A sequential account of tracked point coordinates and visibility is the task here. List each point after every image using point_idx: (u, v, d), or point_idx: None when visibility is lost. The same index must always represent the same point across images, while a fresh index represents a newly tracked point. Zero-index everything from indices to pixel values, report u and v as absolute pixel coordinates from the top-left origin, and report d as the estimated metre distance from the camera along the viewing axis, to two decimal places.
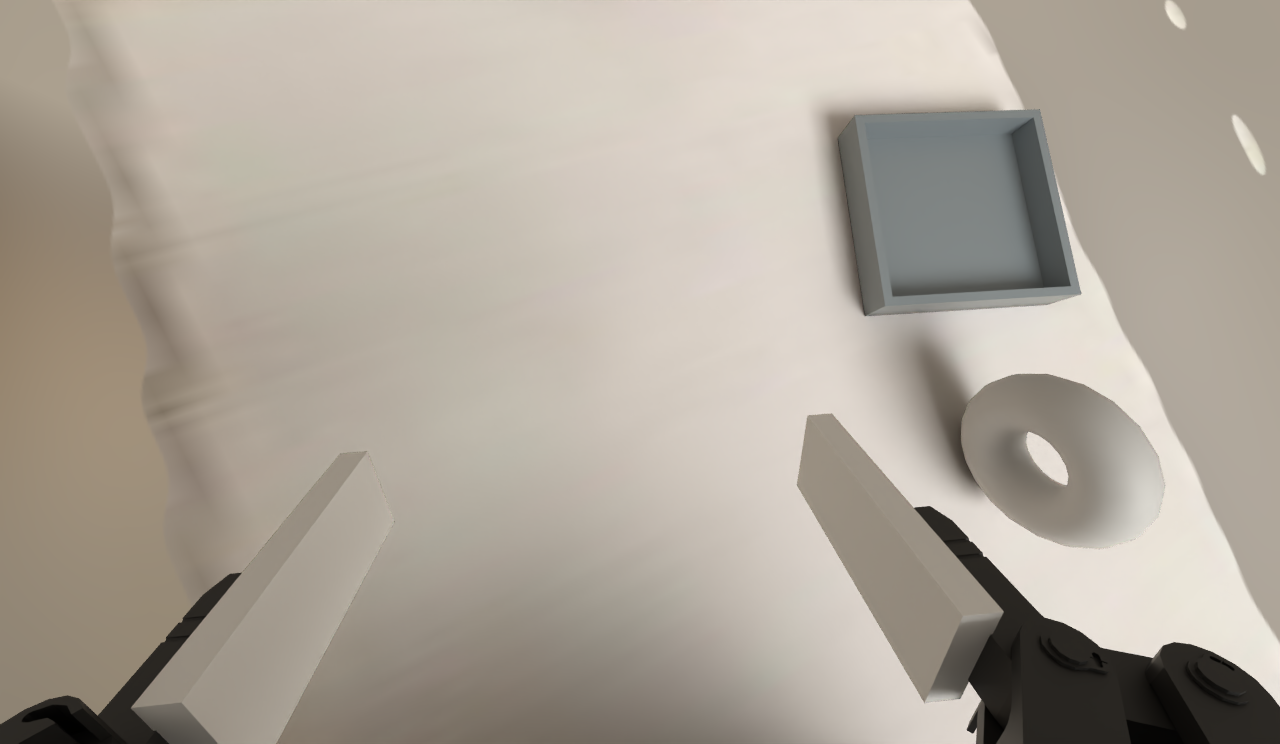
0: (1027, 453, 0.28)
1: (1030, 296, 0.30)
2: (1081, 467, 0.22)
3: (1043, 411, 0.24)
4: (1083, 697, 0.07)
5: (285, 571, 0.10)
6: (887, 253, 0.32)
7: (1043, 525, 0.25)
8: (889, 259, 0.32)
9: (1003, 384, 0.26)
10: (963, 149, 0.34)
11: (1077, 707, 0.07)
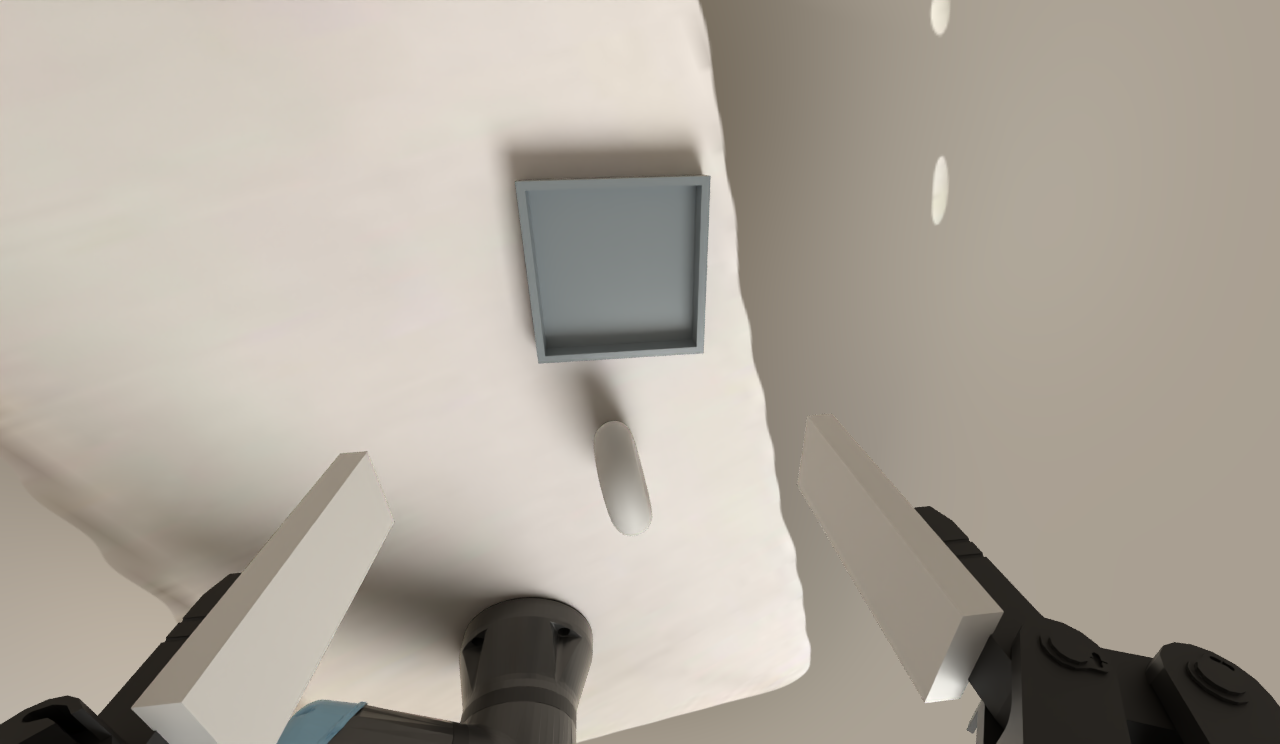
0: None
1: (661, 354, 0.38)
2: None
3: (598, 472, 0.36)
4: (1083, 697, 0.07)
5: (285, 571, 0.10)
6: (558, 305, 0.37)
7: None
8: (560, 310, 0.37)
9: (598, 437, 0.37)
10: (643, 201, 0.34)
11: (1077, 707, 0.07)
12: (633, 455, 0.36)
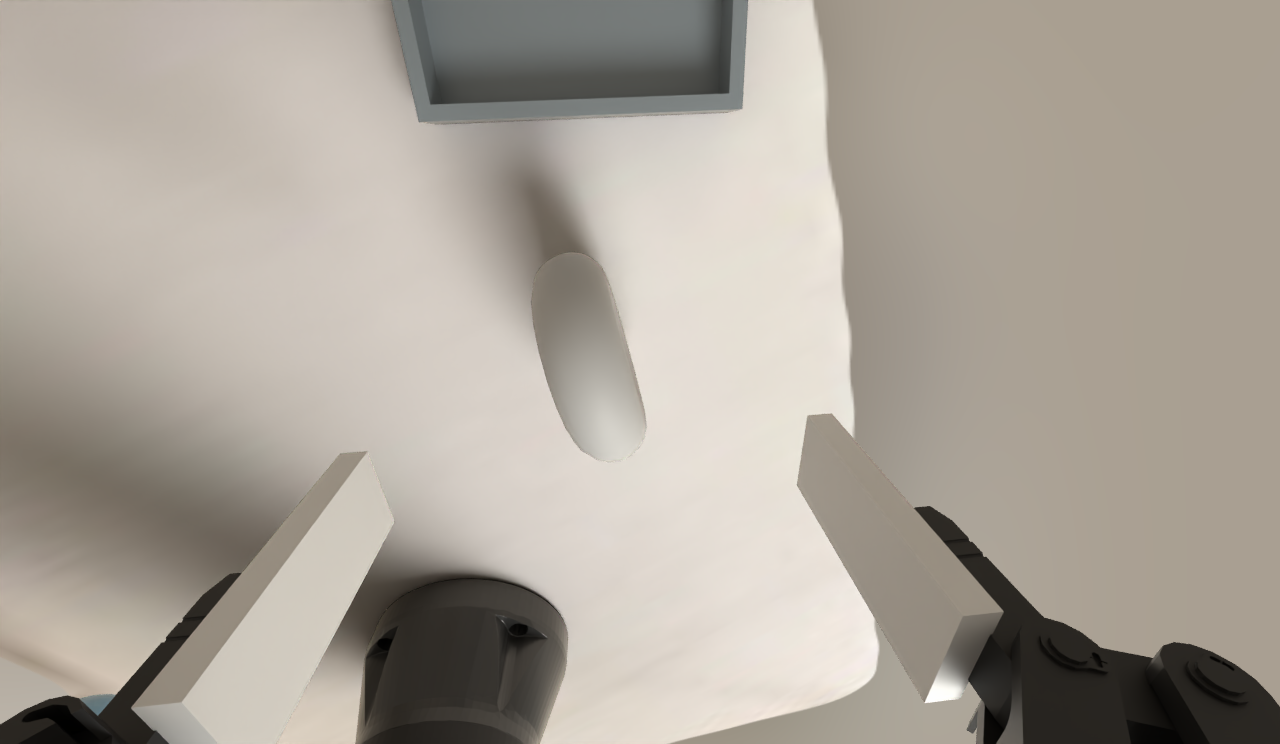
0: None
1: (660, 109, 0.19)
2: None
3: (534, 326, 0.18)
4: (1083, 697, 0.07)
5: (285, 571, 0.10)
6: (456, 3, 0.19)
7: None
8: (460, 17, 0.19)
9: (539, 270, 0.19)
10: None
11: (1077, 707, 0.07)
12: (605, 295, 0.18)
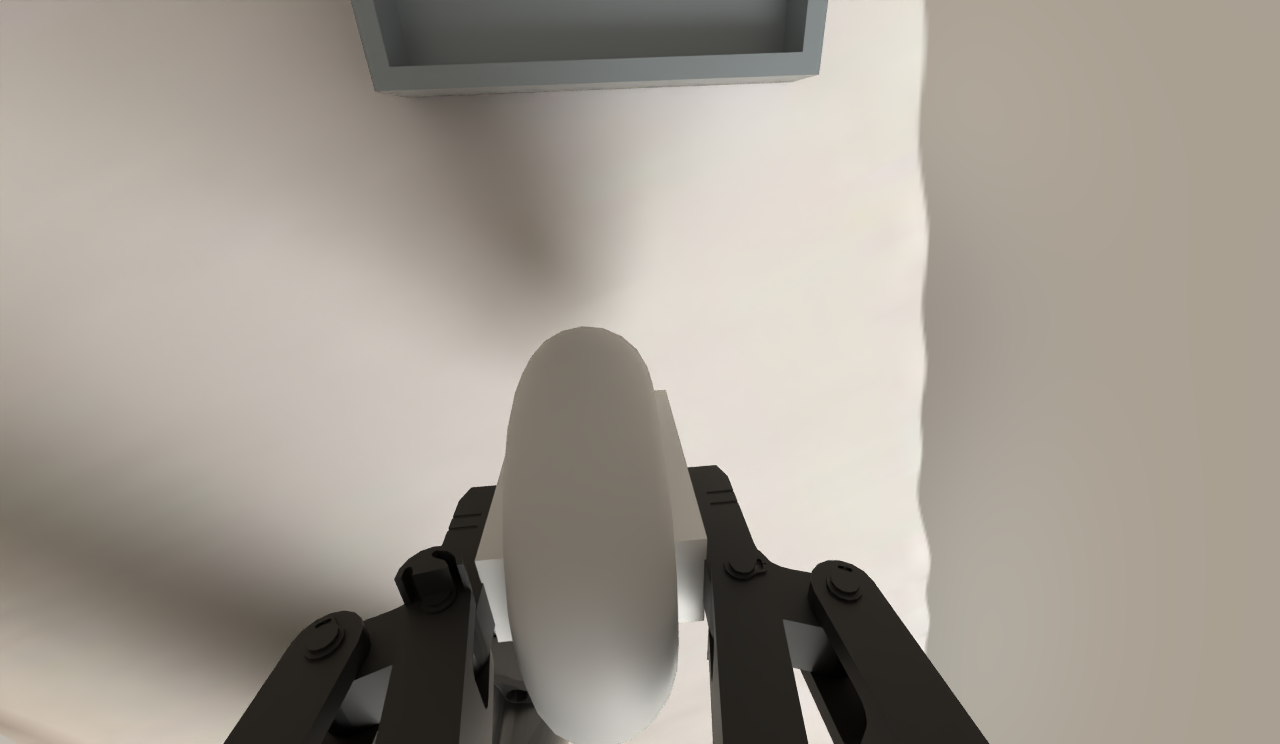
0: None
1: (705, 75, 0.14)
2: None
3: (504, 494, 0.09)
4: (753, 600, 0.08)
5: None
6: None
7: None
8: None
9: (536, 363, 0.10)
10: None
11: (751, 611, 0.08)
12: (660, 452, 0.09)
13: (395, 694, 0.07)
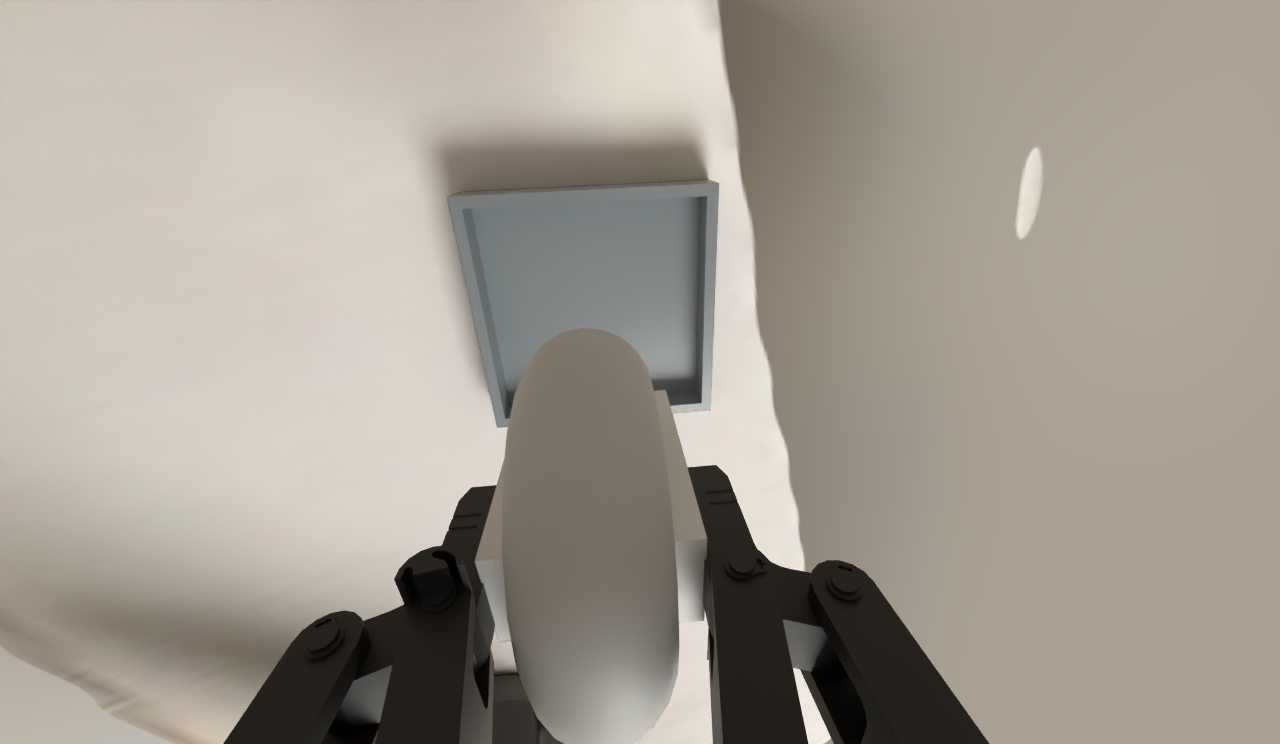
0: None
1: None
2: None
3: (504, 498, 0.09)
4: (754, 600, 0.08)
5: None
6: (522, 352, 0.28)
7: None
8: (524, 358, 0.29)
9: (536, 365, 0.10)
10: (628, 217, 0.25)
11: (751, 611, 0.08)
12: (661, 455, 0.09)
13: (395, 694, 0.07)
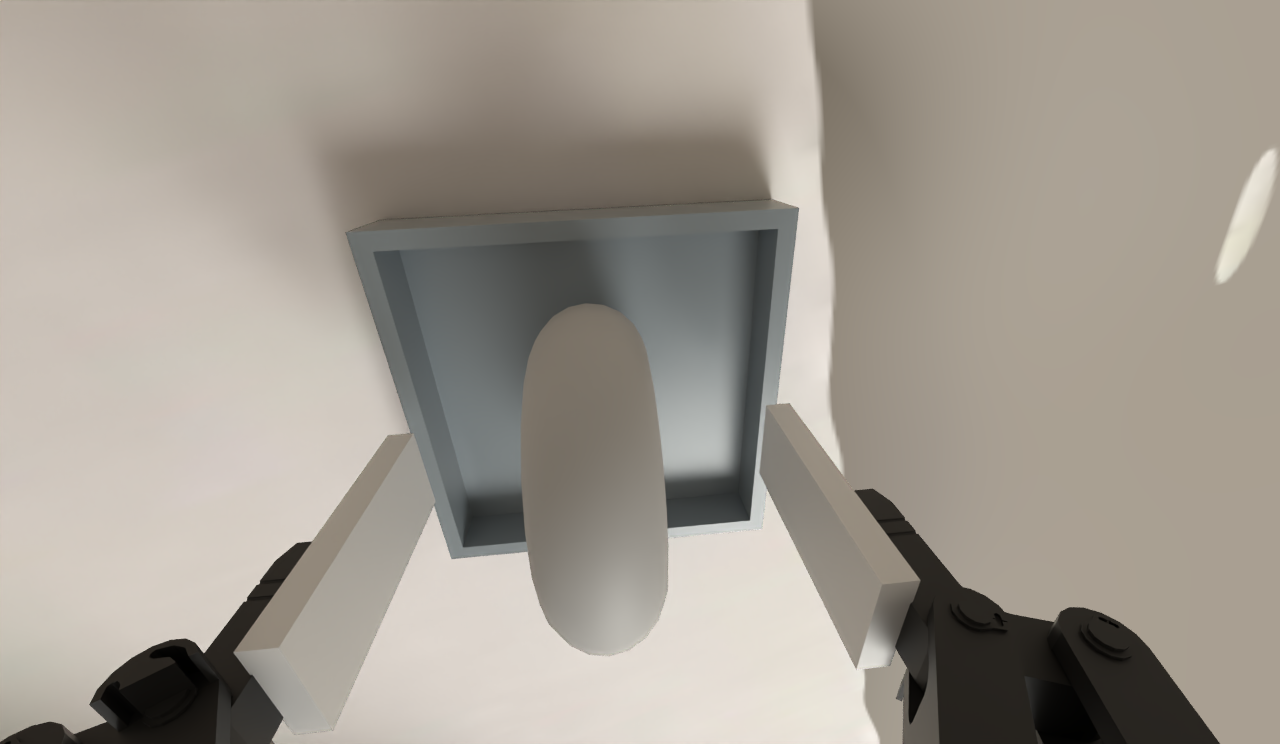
0: None
1: (683, 535, 0.20)
2: None
3: (522, 434, 0.10)
4: (988, 656, 0.07)
5: (352, 538, 0.10)
6: (487, 449, 0.19)
7: None
8: (491, 458, 0.20)
9: (547, 330, 0.12)
10: (647, 258, 0.16)
11: (983, 666, 0.07)
12: (652, 401, 0.11)
13: None
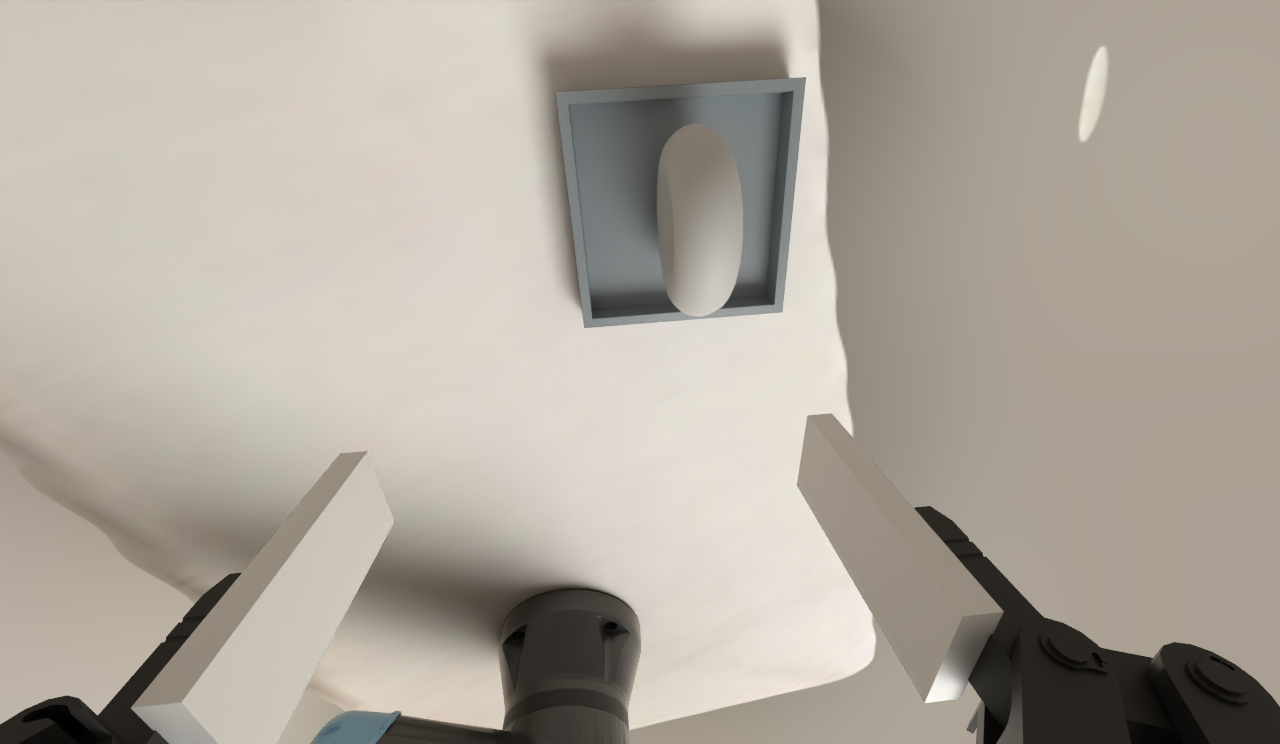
0: None
1: (730, 315, 0.31)
2: (674, 238, 0.22)
3: (673, 171, 0.21)
4: (1083, 697, 0.07)
5: (285, 571, 0.10)
6: (607, 256, 0.30)
7: (666, 287, 0.27)
8: (608, 263, 0.31)
9: (676, 132, 0.23)
10: (714, 118, 0.27)
11: (1077, 707, 0.07)
12: None
13: None
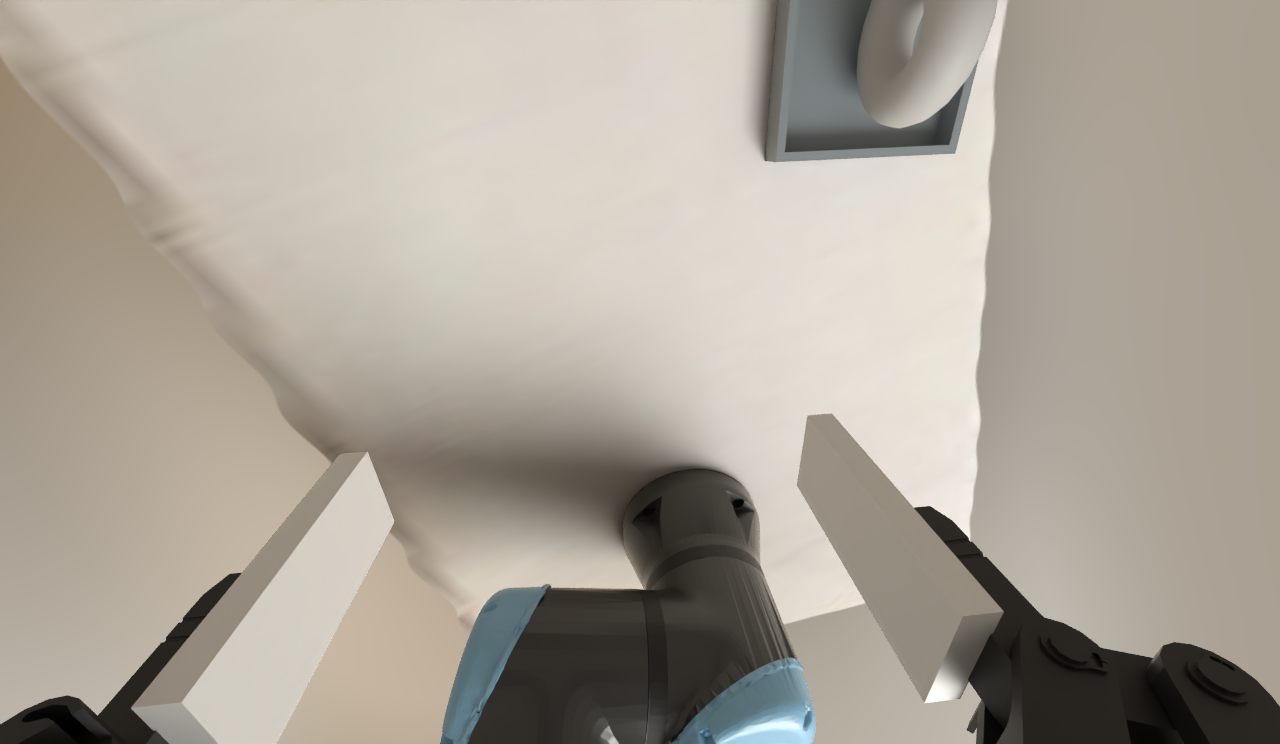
0: (910, 41, 0.29)
1: (908, 154, 0.34)
2: (929, 19, 0.24)
3: None
4: (1083, 697, 0.07)
5: (285, 571, 0.10)
6: (799, 94, 0.33)
7: (880, 100, 0.29)
8: (799, 102, 0.33)
9: None
10: None
11: (1078, 708, 0.07)
12: None
13: None
